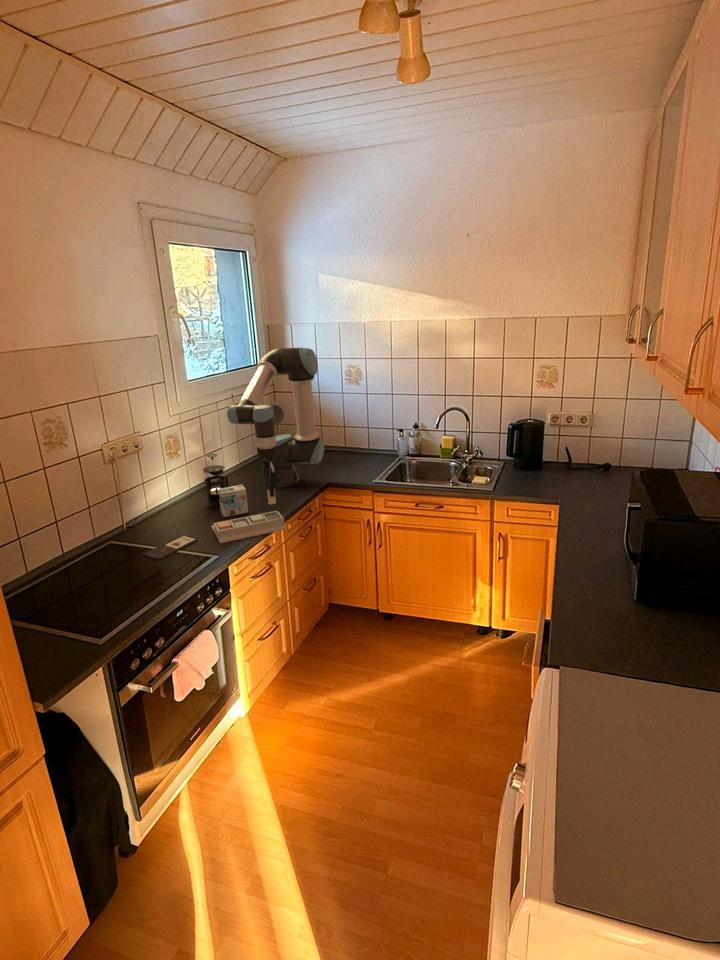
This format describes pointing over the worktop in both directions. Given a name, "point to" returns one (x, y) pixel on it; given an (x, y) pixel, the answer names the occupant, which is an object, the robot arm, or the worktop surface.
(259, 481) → the worktop surface
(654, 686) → the worktop surface
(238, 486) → the light bulb box
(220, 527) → the terracotta key
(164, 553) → the chocolate bar
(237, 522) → the slate key
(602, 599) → the worktop surface
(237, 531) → the keypad board
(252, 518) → the sage key
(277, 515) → the charcoal key
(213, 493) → the french press
